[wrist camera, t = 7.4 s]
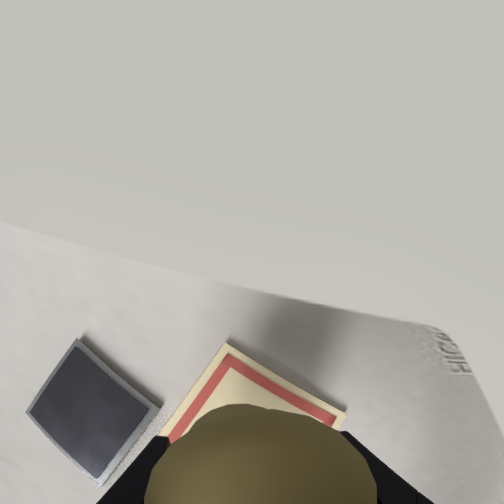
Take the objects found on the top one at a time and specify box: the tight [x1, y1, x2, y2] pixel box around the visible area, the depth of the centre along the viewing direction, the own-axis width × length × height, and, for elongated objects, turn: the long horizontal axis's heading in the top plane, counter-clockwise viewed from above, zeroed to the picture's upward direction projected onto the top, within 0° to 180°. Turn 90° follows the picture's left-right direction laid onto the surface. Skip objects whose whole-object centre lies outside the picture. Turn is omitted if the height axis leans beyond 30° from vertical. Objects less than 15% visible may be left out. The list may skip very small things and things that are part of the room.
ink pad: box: [26, 338, 161, 487], centre depth 18 cm, size 8×8×1 cm
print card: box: [159, 343, 346, 444], centre depth 18 cm, size 10×10×1 cm
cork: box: [144, 403, 377, 504], centre depth 8 cm, size 6×6×11 cm
